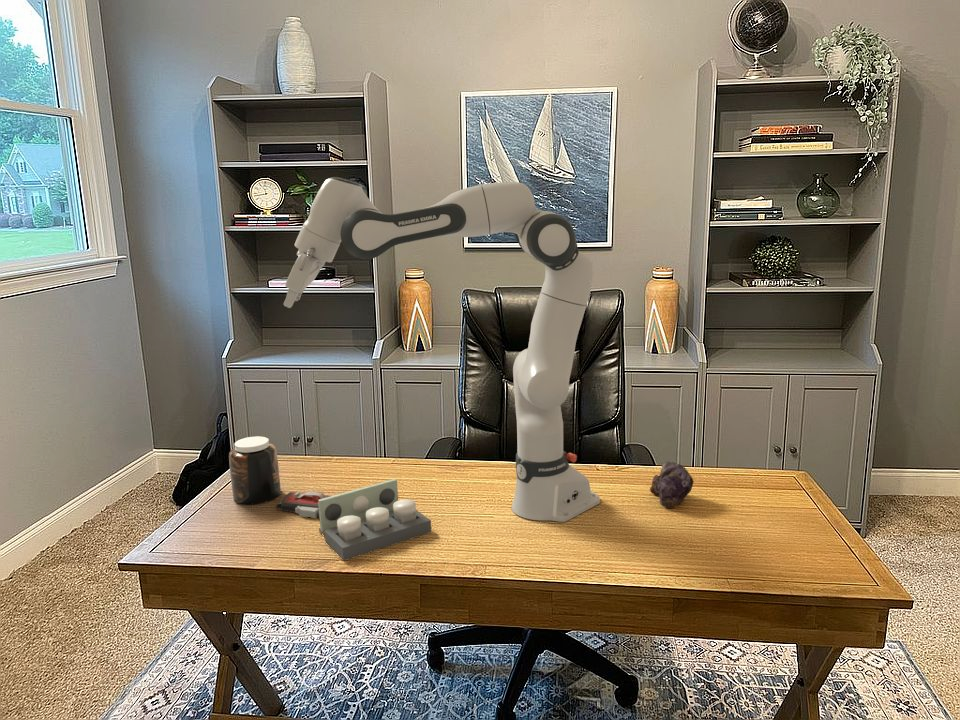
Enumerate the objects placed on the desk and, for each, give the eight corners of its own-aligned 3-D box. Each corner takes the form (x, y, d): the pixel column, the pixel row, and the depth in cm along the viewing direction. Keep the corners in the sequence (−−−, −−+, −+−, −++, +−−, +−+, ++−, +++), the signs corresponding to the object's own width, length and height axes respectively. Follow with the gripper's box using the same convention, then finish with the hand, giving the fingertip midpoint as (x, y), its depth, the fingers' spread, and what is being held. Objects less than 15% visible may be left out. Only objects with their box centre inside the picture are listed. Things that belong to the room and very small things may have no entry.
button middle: (383, 523, 176) (382, 505, 175) (393, 531, 172) (392, 513, 171) (363, 529, 174) (361, 511, 172) (373, 537, 169) (372, 519, 168)
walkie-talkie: (271, 515, 187) (345, 523, 182) (269, 499, 186) (343, 506, 180) (289, 500, 195) (360, 508, 190) (288, 484, 194) (359, 492, 189)
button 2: (409, 514, 180) (408, 497, 179) (420, 522, 176) (419, 505, 175) (390, 520, 177) (389, 503, 176) (400, 529, 173) (399, 511, 172)
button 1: (355, 531, 173) (354, 513, 171) (365, 540, 168) (364, 521, 167) (334, 538, 170) (333, 519, 169) (344, 546, 166) (342, 528, 164)
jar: (255, 508, 190) (249, 452, 186) (224, 499, 196) (217, 445, 192) (289, 491, 200) (284, 438, 196) (258, 483, 206) (253, 431, 202)
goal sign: (395, 509, 188) (393, 477, 185) (400, 513, 185) (398, 481, 183) (319, 531, 177) (316, 498, 175) (324, 536, 174) (321, 502, 172)
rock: (654, 513, 184) (696, 512, 183) (655, 483, 181) (698, 482, 180) (648, 487, 195) (687, 486, 194) (648, 458, 192) (689, 457, 191)
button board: (410, 516, 183) (409, 505, 183) (431, 532, 175) (430, 520, 174) (325, 543, 171) (324, 530, 171) (343, 560, 163) (342, 548, 163)
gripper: (323, 257, 156) (296, 317, 158) (334, 249, 176) (310, 302, 178) (294, 244, 155) (268, 304, 157) (309, 236, 175) (285, 290, 177)
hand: (290, 303), depth 168 cm, fingers open, 8 cm apart
